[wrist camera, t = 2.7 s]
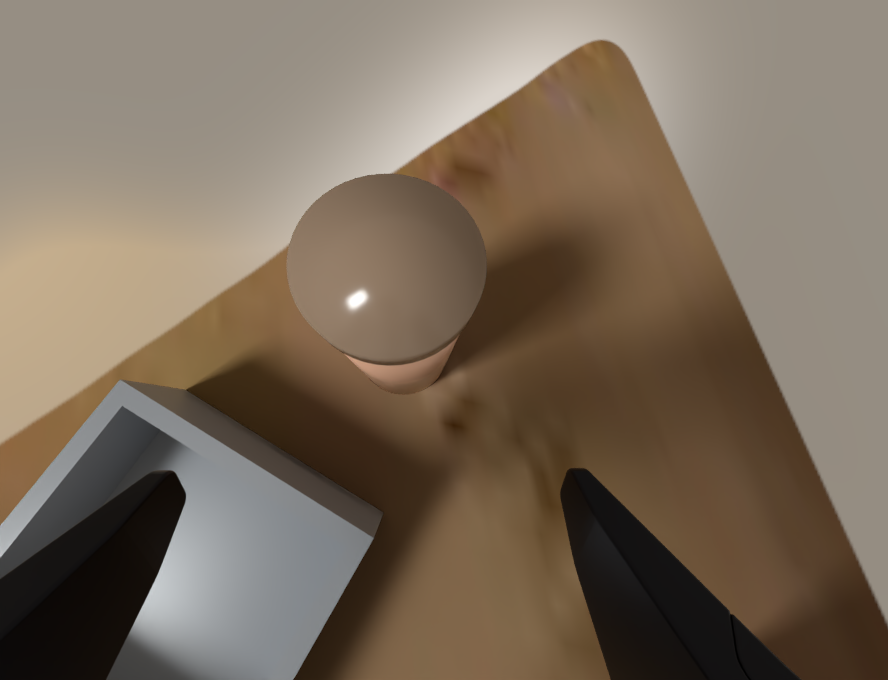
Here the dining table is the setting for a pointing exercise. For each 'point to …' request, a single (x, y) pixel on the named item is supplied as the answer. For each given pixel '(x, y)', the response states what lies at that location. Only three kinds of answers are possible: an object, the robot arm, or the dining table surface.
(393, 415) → the dining table surface
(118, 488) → the box
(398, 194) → the jar
